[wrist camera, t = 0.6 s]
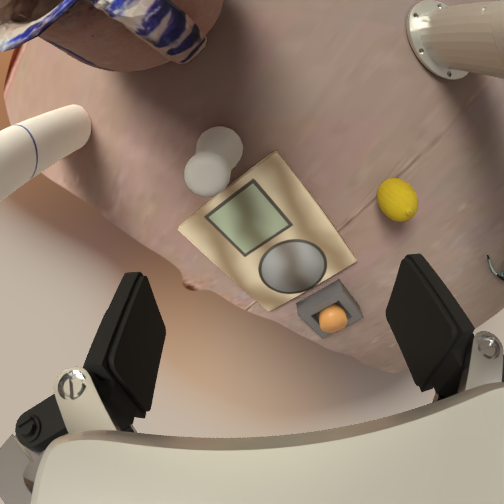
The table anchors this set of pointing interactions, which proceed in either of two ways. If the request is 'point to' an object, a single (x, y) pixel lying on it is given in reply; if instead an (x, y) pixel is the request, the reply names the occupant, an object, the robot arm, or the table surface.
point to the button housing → (325, 298)
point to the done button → (332, 318)
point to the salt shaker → (213, 161)
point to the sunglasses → (503, 274)
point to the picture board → (269, 234)
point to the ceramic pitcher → (113, 29)
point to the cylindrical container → (40, 144)
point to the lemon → (397, 199)
